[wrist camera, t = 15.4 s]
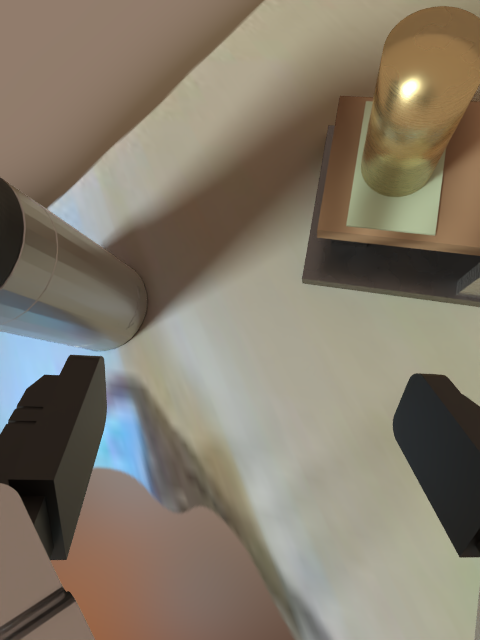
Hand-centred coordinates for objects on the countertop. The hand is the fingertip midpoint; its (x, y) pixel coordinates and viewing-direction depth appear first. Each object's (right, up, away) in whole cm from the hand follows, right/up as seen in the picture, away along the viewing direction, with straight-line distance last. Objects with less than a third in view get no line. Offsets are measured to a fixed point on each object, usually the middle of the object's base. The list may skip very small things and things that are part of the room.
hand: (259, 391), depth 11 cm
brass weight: (+11, +13, +19) cm, 25 cm away
